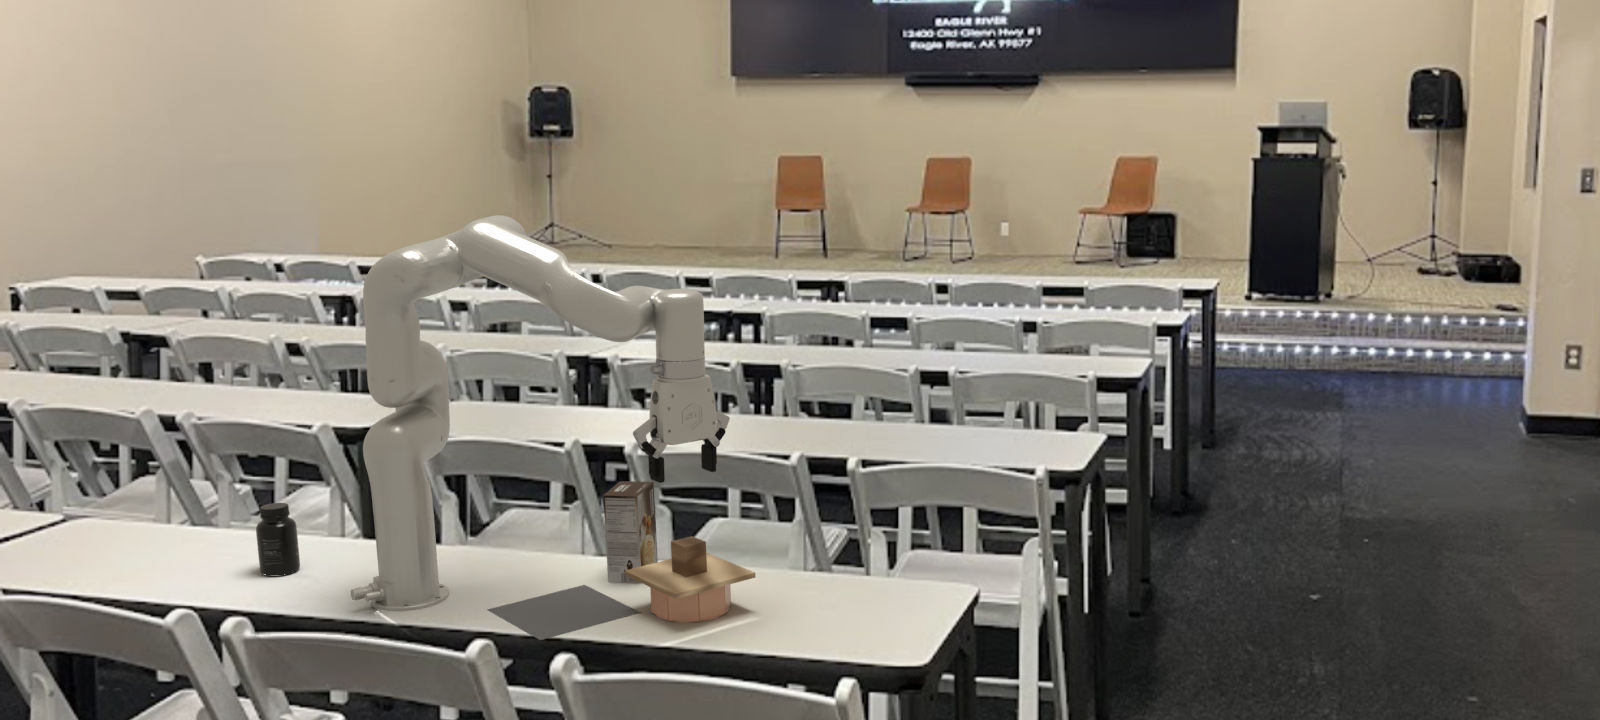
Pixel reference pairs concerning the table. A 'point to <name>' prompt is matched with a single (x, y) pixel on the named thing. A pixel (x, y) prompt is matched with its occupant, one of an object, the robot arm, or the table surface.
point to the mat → (563, 612)
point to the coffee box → (629, 528)
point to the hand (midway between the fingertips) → (683, 475)
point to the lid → (689, 570)
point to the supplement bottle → (277, 540)
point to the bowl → (691, 605)
